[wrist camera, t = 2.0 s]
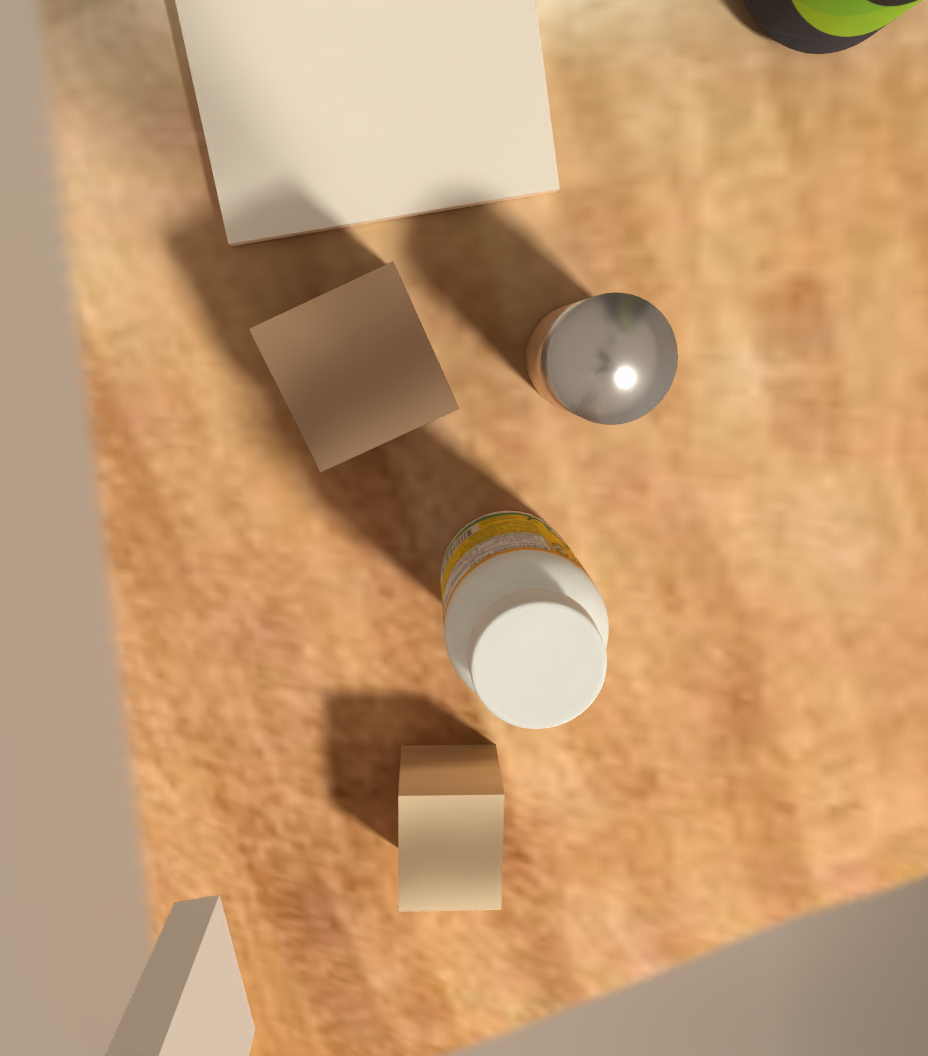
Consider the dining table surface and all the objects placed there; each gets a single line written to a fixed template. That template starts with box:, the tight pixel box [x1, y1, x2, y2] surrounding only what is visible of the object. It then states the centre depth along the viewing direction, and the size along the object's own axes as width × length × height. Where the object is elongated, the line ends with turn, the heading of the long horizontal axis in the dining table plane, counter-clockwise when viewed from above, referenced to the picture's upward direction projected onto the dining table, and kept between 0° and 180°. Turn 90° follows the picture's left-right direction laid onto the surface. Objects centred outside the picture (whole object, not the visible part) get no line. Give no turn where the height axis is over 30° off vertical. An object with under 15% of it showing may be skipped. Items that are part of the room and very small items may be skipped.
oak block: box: [398, 744, 504, 912], centre depth 33 cm, size 5×4×4 cm
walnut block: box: [249, 261, 459, 472], centre depth 28 cm, size 5×5×5 cm
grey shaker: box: [526, 293, 678, 425], centre depth 28 cm, size 4×4×6 cm
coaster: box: [175, 0, 560, 246], centre depth 28 cm, size 12×12×1 cm
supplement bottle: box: [440, 511, 609, 729], centre depth 28 cm, size 5×5×10 cm
